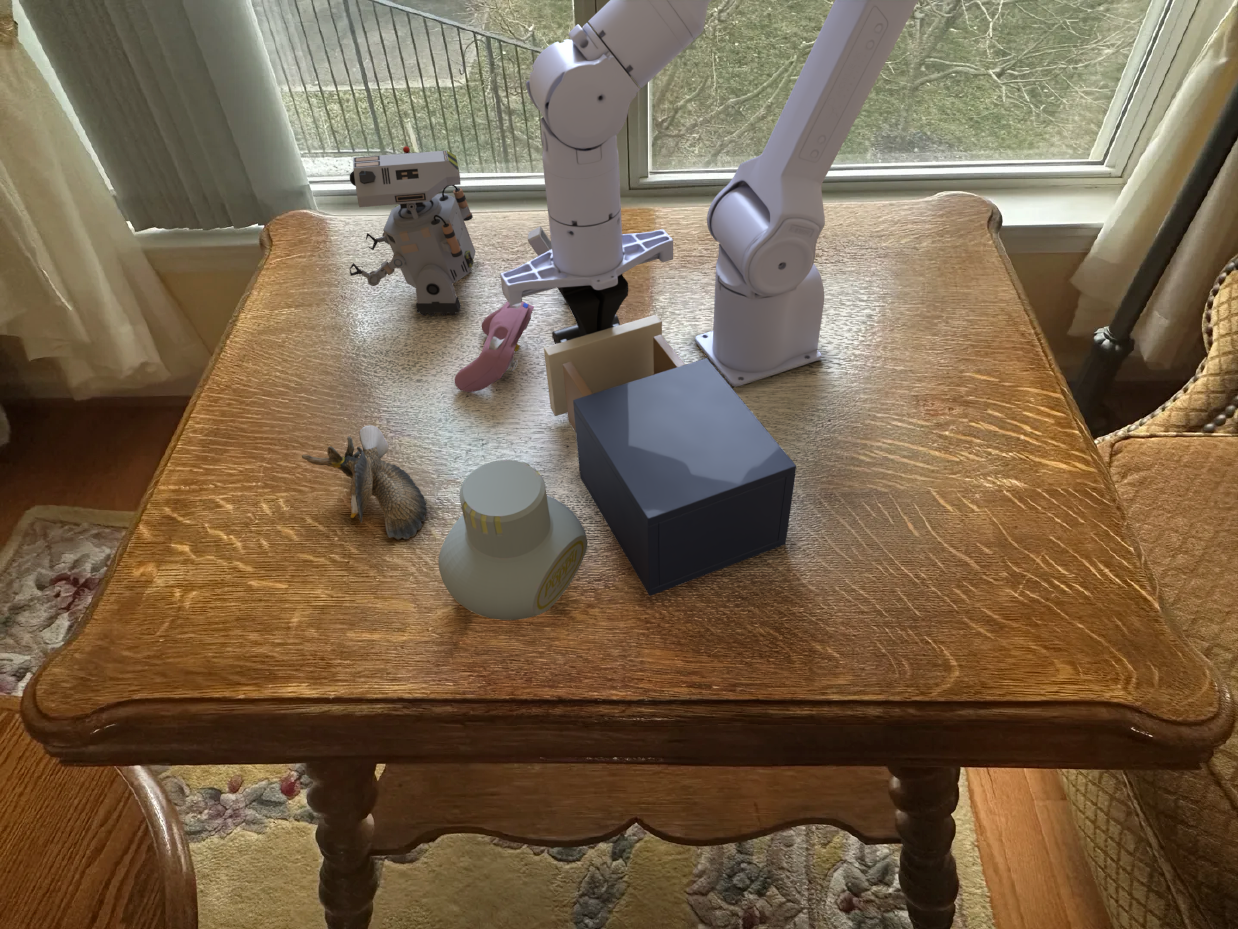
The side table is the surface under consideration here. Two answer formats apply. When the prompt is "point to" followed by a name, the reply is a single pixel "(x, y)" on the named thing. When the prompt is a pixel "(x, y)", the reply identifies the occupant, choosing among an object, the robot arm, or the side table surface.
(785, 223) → the robot arm
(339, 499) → the side table surface
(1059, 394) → the side table surface
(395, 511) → the eagle figurine
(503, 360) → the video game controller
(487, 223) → the side table surface
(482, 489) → the air freshener
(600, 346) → the drawer
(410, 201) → the figurine
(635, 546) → the cabinet
